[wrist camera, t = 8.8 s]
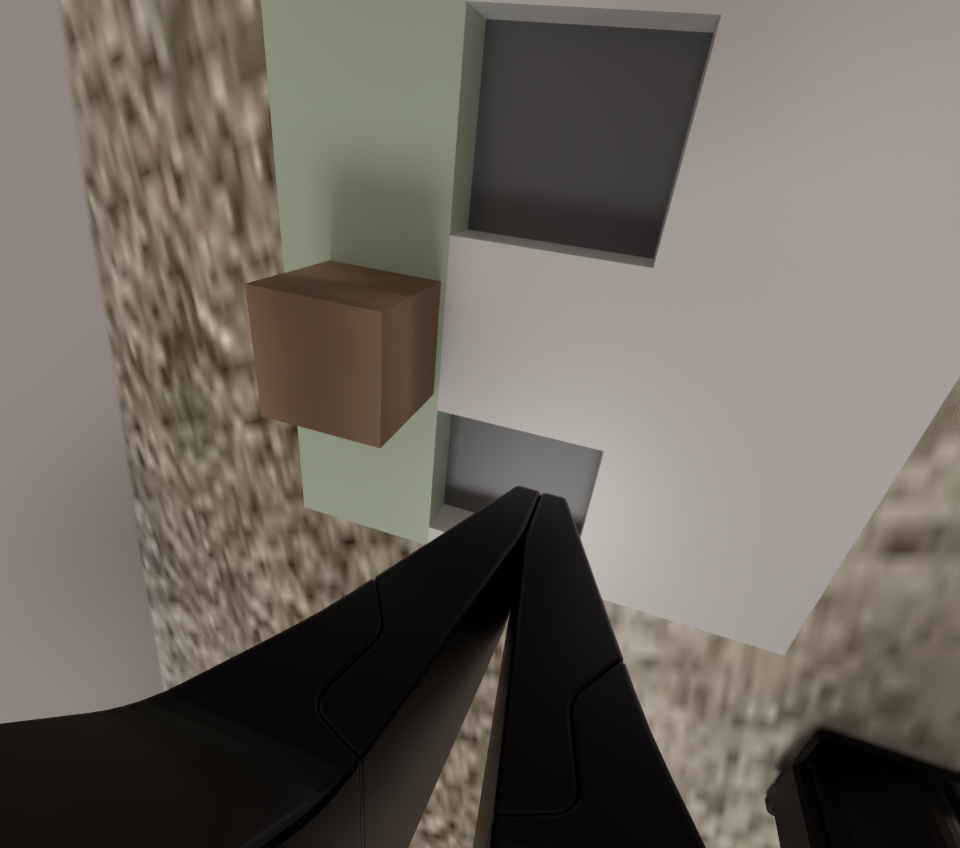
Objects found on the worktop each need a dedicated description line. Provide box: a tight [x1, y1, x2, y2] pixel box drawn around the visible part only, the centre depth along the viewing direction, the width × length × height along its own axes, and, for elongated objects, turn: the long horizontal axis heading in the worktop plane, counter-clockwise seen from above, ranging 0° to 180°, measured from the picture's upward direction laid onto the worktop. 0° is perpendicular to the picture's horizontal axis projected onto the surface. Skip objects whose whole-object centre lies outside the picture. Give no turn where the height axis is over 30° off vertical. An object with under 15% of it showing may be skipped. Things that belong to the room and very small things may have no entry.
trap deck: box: [261, 0, 960, 656], centre depth 16 cm, size 20×19×2 cm
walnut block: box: [245, 260, 441, 448], centre depth 15 cm, size 4×4×4 cm
